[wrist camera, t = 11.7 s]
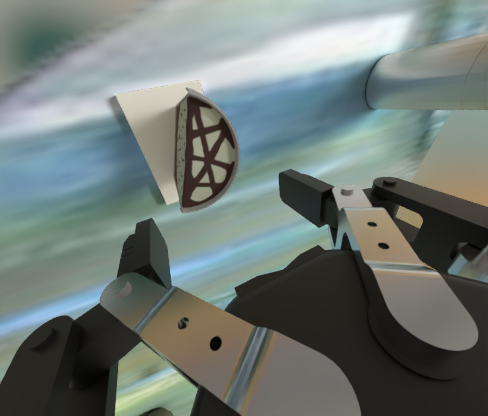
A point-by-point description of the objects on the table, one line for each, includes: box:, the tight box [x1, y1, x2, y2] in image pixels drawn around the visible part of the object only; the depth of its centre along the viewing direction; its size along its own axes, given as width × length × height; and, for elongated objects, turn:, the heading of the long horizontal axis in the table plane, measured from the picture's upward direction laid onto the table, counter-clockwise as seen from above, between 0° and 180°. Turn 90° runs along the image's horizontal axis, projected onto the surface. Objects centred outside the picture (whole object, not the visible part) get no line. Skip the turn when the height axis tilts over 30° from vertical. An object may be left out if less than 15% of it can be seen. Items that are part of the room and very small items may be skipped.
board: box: [115, 80, 204, 205], centre depth 26 cm, size 10×15×1 cm, turn 10°
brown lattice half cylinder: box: [173, 87, 240, 213], centre depth 23 cm, size 12×6×10 cm, turn 168°
